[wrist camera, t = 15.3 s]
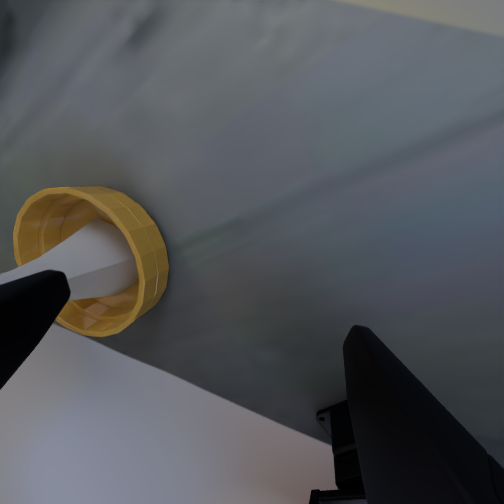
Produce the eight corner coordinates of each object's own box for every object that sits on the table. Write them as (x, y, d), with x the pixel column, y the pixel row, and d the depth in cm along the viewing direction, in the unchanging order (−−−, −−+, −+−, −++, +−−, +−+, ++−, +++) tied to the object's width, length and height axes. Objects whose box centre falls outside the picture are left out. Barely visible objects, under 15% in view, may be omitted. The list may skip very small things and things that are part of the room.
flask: (123, 305, 25) (9, 379, 16) (69, 260, 25) (-77, 306, 16) (155, 254, 23) (43, 305, 13) (95, 203, 23) (-60, 218, 13)
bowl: (198, 271, 23) (175, 288, 19) (117, 334, 27) (86, 359, 23) (104, 155, 22) (61, 149, 18) (37, 240, 26) (-9, 250, 22)
